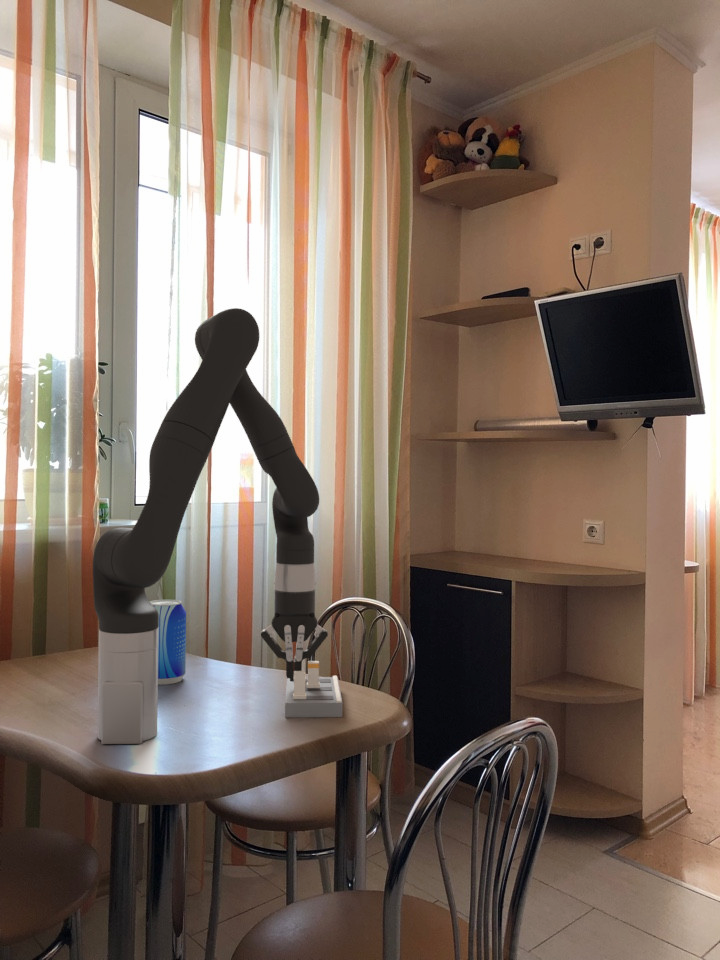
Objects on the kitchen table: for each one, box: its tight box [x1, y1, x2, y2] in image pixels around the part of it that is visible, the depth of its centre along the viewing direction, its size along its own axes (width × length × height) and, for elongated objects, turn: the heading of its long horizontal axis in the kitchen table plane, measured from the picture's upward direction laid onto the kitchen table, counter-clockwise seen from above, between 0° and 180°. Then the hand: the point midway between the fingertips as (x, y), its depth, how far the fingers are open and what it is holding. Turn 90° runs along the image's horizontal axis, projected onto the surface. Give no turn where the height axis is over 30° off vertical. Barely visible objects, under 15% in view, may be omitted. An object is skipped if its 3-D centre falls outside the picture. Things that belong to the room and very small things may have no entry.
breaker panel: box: [284, 659, 343, 718], centre depth 150 cm, size 18×10×7 cm, turn 4°
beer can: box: [149, 599, 187, 686], centre depth 165 cm, size 8×8×16 cm
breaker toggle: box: [307, 660, 320, 688], centre depth 150 cm, size 2×2×5 cm
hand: (294, 680), depth 150 cm, fingers closed
